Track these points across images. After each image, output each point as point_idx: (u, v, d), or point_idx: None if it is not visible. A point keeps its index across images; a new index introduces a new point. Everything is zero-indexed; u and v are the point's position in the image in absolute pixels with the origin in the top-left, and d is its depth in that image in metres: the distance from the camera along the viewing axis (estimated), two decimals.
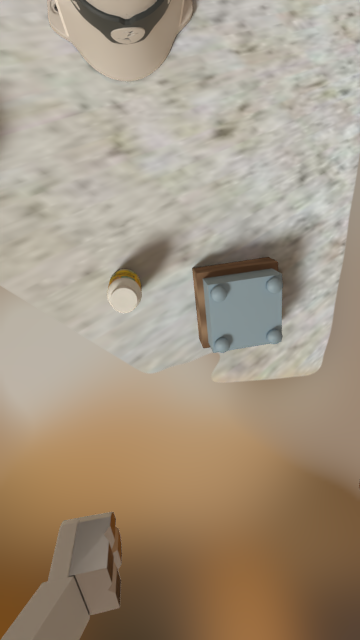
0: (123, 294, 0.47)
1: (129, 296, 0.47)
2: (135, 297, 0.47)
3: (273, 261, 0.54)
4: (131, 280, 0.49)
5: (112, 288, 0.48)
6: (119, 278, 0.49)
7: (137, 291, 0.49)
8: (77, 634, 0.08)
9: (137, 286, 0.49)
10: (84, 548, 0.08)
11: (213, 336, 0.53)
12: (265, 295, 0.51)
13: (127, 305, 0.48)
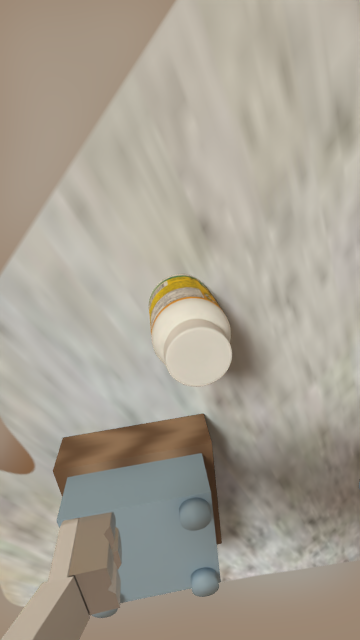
0: (215, 357, 0.19)
1: (209, 369, 0.19)
2: (205, 382, 0.19)
3: None
4: None
5: (214, 317, 0.20)
6: None
7: None
8: (77, 634, 0.08)
9: None
10: (84, 548, 0.08)
11: None
12: (185, 570, 0.29)
13: (186, 365, 0.19)
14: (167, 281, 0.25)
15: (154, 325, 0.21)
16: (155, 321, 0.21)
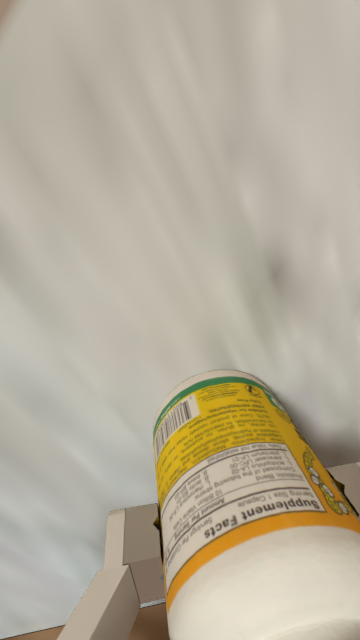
0: None
1: None
2: None
3: None
4: None
5: None
6: None
7: None
8: (130, 621, 0.08)
9: None
10: (135, 537, 0.09)
11: None
12: None
13: None
14: (196, 397, 0.11)
15: (178, 607, 0.07)
16: (180, 592, 0.07)
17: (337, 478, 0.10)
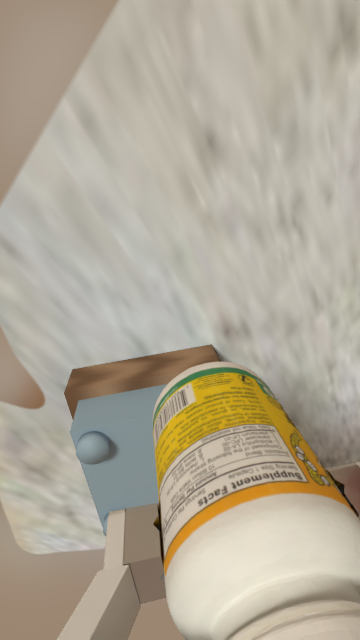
0: None
1: None
2: None
3: None
4: None
5: (351, 559, 0.07)
6: None
7: None
8: (131, 622, 0.08)
9: None
10: (135, 537, 0.09)
11: (110, 426, 0.25)
12: None
13: None
14: (192, 386, 0.12)
15: (174, 567, 0.07)
16: (176, 554, 0.07)
17: (337, 478, 0.10)
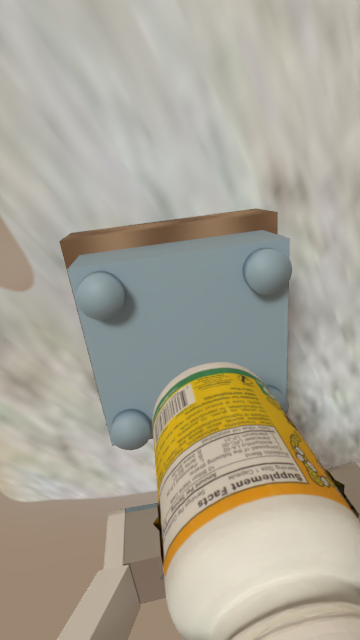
0: None
1: None
2: None
3: None
4: None
5: (351, 560, 0.07)
6: None
7: None
8: (131, 622, 0.08)
9: None
10: (135, 537, 0.09)
11: (126, 265, 0.17)
12: None
13: None
14: (192, 386, 0.12)
15: (173, 568, 0.07)
16: (176, 556, 0.07)
17: (337, 478, 0.10)
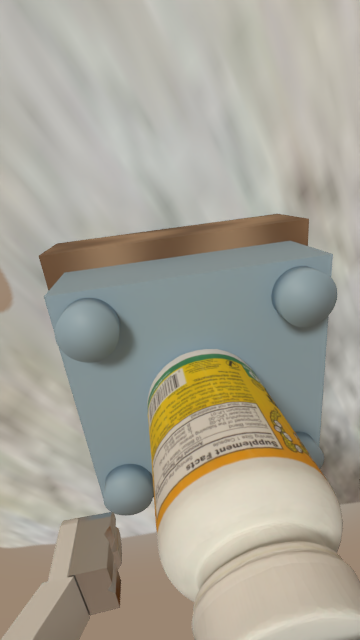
0: None
1: None
2: None
3: None
4: None
5: (317, 511, 0.08)
6: None
7: None
8: (77, 634, 0.08)
9: None
10: (84, 548, 0.08)
11: (122, 290, 0.13)
12: None
13: None
14: (183, 370, 0.13)
15: (164, 522, 0.08)
16: (167, 512, 0.09)
17: None
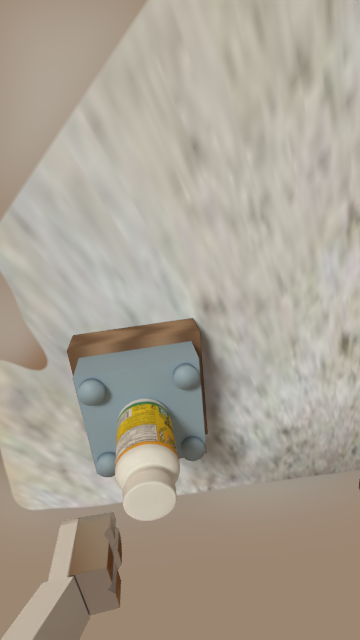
0: (162, 500, 0.24)
1: (158, 509, 0.24)
2: (155, 517, 0.24)
3: None
4: None
5: (164, 461, 0.25)
6: (178, 460, 0.27)
7: None
8: (77, 634, 0.08)
9: None
10: (84, 548, 0.08)
11: (106, 375, 0.30)
12: (176, 438, 0.34)
13: (139, 507, 0.24)
14: (131, 409, 0.30)
15: (117, 465, 0.26)
16: (117, 462, 0.26)
17: None
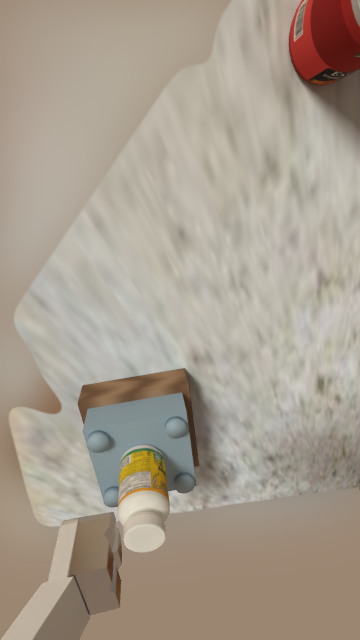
0: (154, 537, 0.30)
1: (151, 543, 0.31)
2: (149, 550, 0.31)
3: None
4: None
5: (156, 504, 0.32)
6: (168, 501, 0.33)
7: None
8: (77, 634, 0.08)
9: None
10: (84, 548, 0.08)
11: (110, 427, 0.37)
12: (170, 475, 0.41)
13: (136, 543, 0.30)
14: (131, 455, 0.37)
15: (119, 507, 0.32)
16: (119, 504, 0.32)
17: None
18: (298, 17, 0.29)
